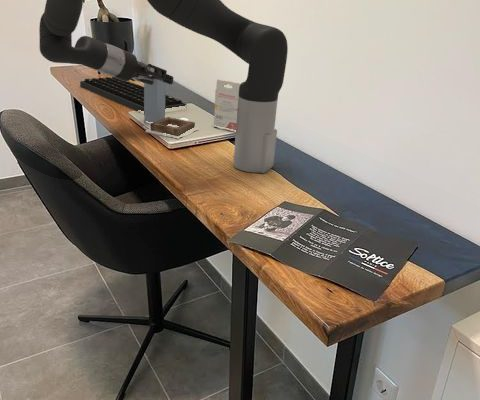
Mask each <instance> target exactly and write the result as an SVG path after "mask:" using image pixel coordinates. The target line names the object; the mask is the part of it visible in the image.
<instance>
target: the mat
mask: <svg viewBox="0 0 480 400" xmlns="http://www.w3.org/2000/svg"><path fill="white" fill-rule="evenodd" d="M144 132H145V133H148V134H152V135H157V136H160V135H165V134H163V133H161V132H156V131H152V130H151V128H149V129H146V130H145V131H144ZM158 134H159V135H158ZM166 136H170V137H173V138H172V139H174V138H177V139H176V140H180V139H179V138H180V137H179V136H174V135H167V134H166Z"/></svg>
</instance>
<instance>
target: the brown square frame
mask: <svg viewBox="0 0 480 400" xmlns="http://www.w3.org/2000/svg"><path fill="white" fill-rule="evenodd" d="M168 124H172V125H177V126H179V127H172V126H167V125H168ZM194 127H195V128H196V123H195V122H194V121H191V120H186V119H185V120H184V119H182V118H175V117H170V116H167V117H166V116H165V118H164V119H161V120H159V121H156V122H153V123H151V124H150V129H151V130H152V131H156V132H161V133H166V134H170V135H174V136H180V135H181V134H183V133H185V132H186V131H188V130H190V129H192V128H194Z"/></svg>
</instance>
